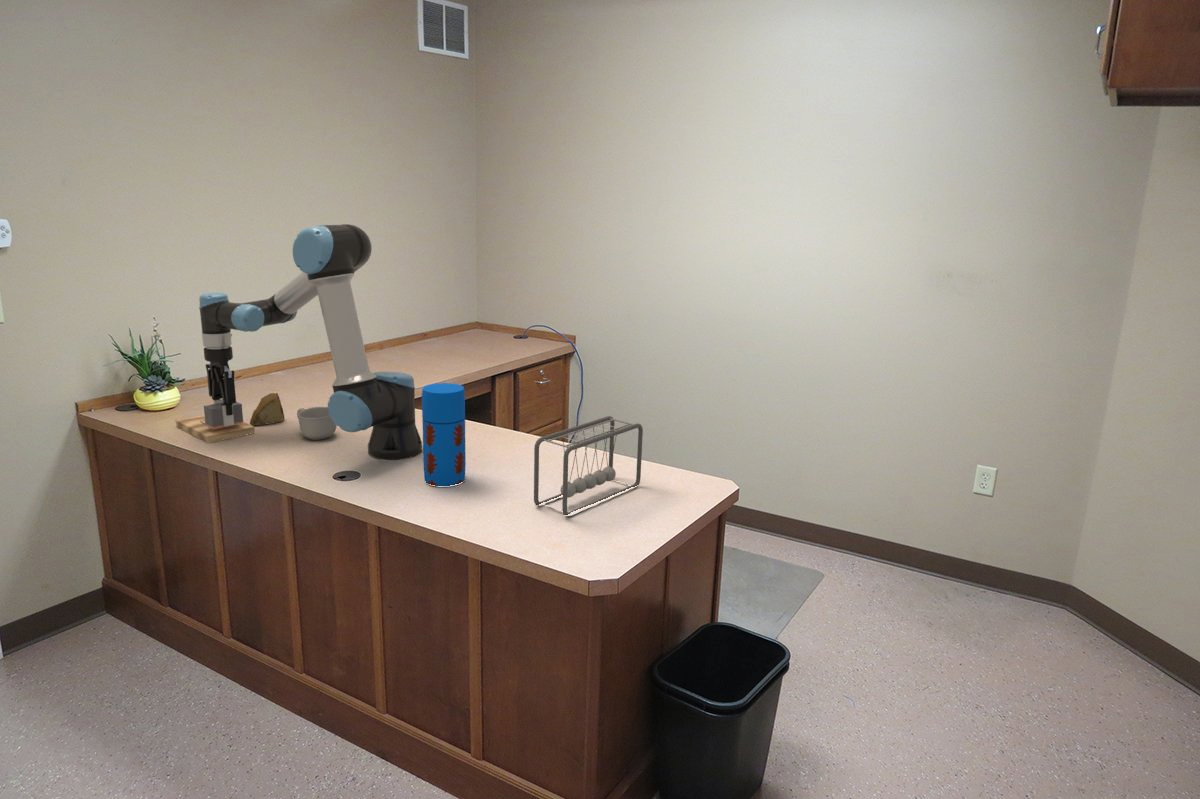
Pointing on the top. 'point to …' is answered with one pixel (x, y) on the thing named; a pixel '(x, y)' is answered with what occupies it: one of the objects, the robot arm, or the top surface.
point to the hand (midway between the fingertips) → (224, 422)
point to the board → (211, 435)
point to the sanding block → (221, 415)
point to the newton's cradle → (589, 479)
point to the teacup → (316, 423)
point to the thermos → (443, 433)
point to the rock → (268, 410)
